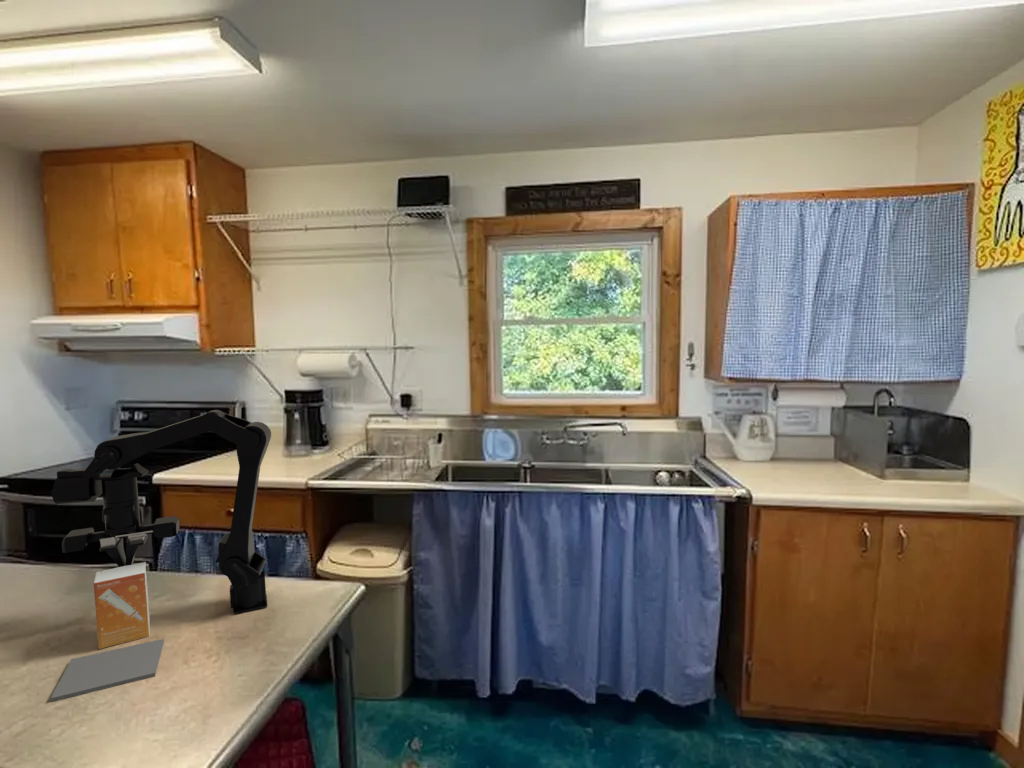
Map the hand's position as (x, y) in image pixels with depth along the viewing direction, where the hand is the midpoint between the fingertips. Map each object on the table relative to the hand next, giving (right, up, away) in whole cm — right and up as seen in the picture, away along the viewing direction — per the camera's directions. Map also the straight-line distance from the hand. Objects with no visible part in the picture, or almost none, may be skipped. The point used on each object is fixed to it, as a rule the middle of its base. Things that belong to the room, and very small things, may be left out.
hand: (127, 574), depth 110 cm
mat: (+8, -11, -15) cm, 21 cm away
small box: (+3, -11, -5) cm, 12 cm away
